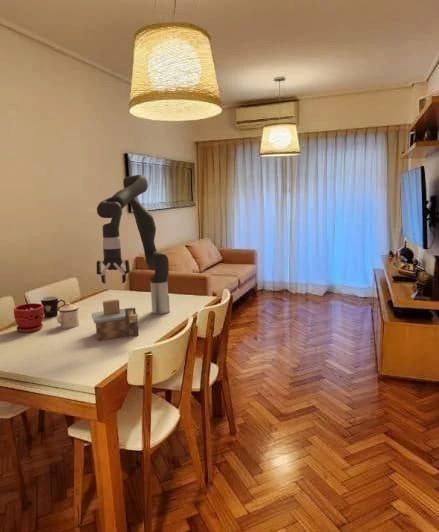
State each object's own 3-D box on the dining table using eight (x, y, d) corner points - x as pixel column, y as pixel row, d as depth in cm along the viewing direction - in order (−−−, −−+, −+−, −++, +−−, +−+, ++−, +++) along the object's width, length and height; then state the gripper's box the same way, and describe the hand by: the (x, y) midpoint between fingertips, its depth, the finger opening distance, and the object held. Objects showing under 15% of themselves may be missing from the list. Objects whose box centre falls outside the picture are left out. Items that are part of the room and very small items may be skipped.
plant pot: (18, 336, 182) (15, 311, 180) (14, 329, 193) (11, 305, 190) (48, 330, 190) (45, 306, 188) (42, 323, 200) (39, 301, 198)
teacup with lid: (69, 321, 202) (67, 300, 200) (83, 323, 198) (81, 301, 196) (51, 329, 191) (49, 306, 189) (65, 331, 188) (63, 307, 186)
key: (132, 313, 180) (132, 308, 180) (136, 321, 168) (136, 315, 168) (126, 314, 179) (126, 308, 179) (130, 322, 167) (129, 316, 167)
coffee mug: (38, 317, 211) (37, 299, 209) (50, 313, 219) (49, 295, 217) (55, 319, 207) (54, 301, 205) (67, 314, 214) (65, 297, 213)
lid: (132, 310, 192) (131, 295, 190) (137, 317, 180) (136, 302, 178) (91, 315, 184) (90, 300, 183) (94, 323, 172) (93, 307, 171)
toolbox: (134, 327, 190) (133, 301, 188) (138, 336, 178) (137, 308, 176) (96, 332, 184) (94, 305, 182) (97, 342, 172) (95, 312, 170)
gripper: (129, 246, 177) (131, 281, 180) (97, 246, 176) (99, 281, 179) (126, 247, 170) (128, 284, 172) (93, 248, 169) (95, 285, 171)
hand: (114, 283), depth 175 cm, fingers open, 8 cm apart
